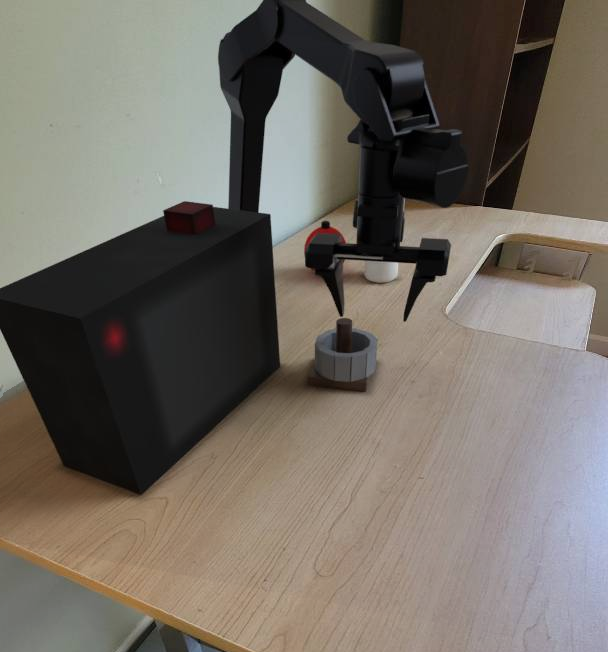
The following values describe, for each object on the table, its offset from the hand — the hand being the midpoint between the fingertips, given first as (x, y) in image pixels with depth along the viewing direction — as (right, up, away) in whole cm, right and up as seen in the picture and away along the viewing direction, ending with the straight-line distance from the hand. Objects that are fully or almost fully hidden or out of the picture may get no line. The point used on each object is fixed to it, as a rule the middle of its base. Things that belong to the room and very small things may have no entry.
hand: (373, 318), depth 75 cm
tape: (-3, -5, +6) cm, 9 cm away
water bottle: (+6, +23, +35) cm, 42 cm away
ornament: (-5, +25, +37) cm, 45 cm away
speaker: (-29, -13, +2) cm, 32 cm away
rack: (-4, -6, +8) cm, 10 cm away
